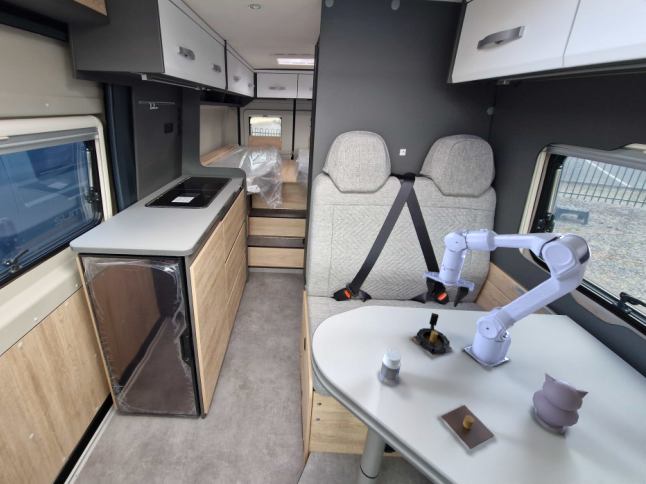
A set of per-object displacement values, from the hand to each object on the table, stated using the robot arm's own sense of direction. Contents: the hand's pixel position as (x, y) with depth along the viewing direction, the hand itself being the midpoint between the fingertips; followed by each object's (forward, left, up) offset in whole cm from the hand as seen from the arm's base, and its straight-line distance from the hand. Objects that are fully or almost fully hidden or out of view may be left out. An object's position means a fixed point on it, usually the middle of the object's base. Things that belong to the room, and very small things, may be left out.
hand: (442, 301), depth 102 cm
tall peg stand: (+9, +7, -10) cm, 15 cm away
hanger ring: (+8, +6, -8) cm, 13 cm away
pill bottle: (+30, +12, -10) cm, 34 cm away
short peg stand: (+22, +30, -10) cm, 38 cm away
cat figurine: (+1, +36, -10) cm, 37 cm away
